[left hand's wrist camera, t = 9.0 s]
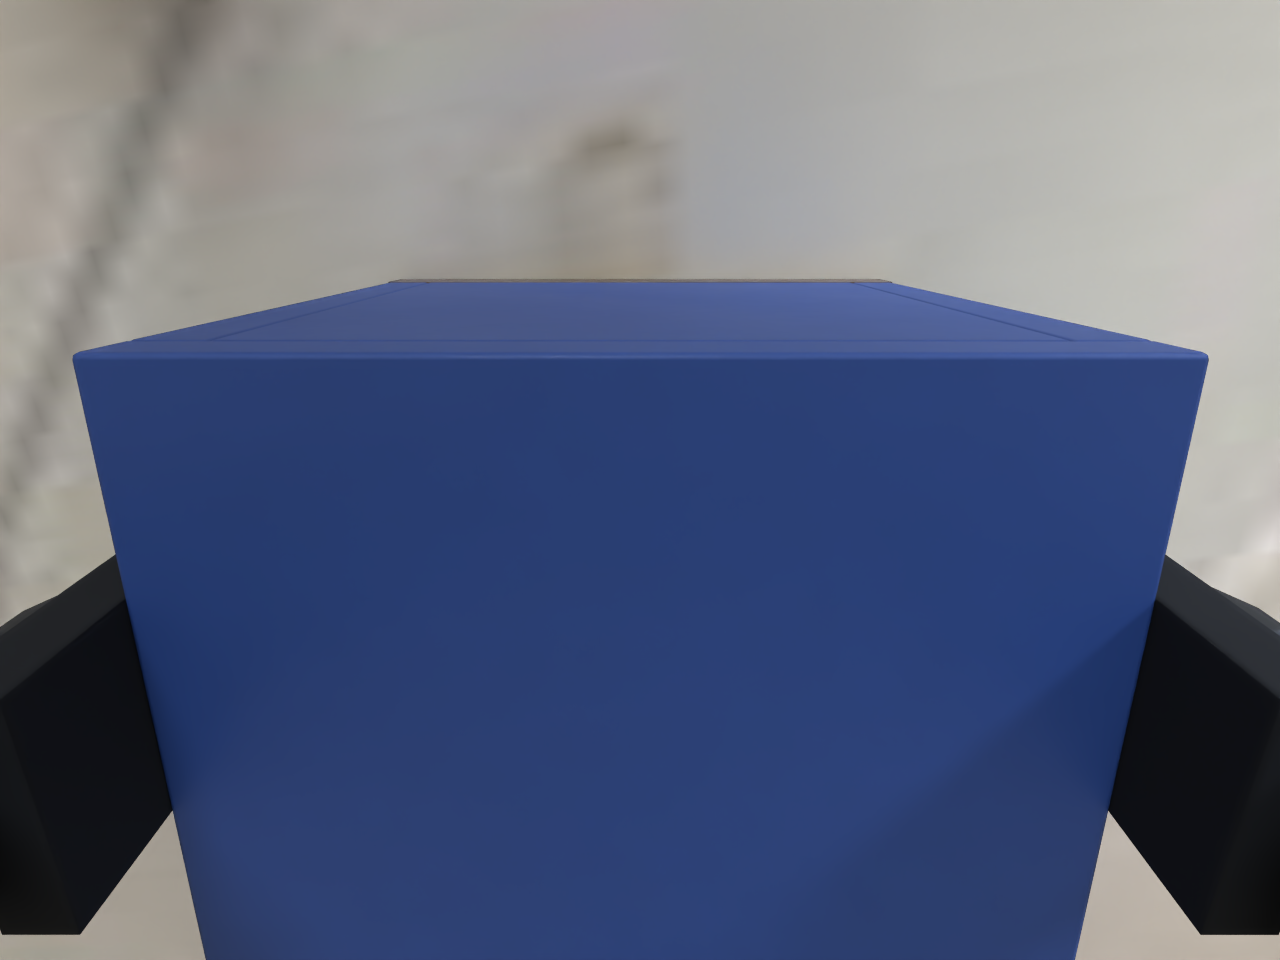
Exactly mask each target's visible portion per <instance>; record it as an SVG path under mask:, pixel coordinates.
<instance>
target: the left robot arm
mask: <svg viewBox="0 0 1280 960" xmlns="http://www.w3.org/2000/svg"><path fill="white" fill-rule="evenodd" d="M172 810H173V809H172V805H171V800H170V796H169V791H168V787H167V782H166V778H165V773H164V769H163V764H162V760H161V755H160V751H159V747H158V742H157V738H156V733H155V729H154V724H153V720H152V715H151V711H150V706H149V702H148V697H147V693H146V688H145V684H144V679H143V675H142V670H141V666H140V661H139V657H138V652H137V648H136V643H135V639H134V634H133V630H132V625H131V621H130V616H129V612H128V607H127V603H126V598H125V594H124V589H123V585H122V580H121V576H120V571H119V567H118V562H117V558H116V554H115V555H114V556H113V557H111V558H110V559H108V560H107V561H106V562H104V563H103V564H101V565H100V566H99V567H97V568H96V569H94V570H93V571H91V572H90V573H89V574H87V575H86V576H84V577H83V578H82V579H80V580H79V581H77V582H76V583H75V584H73V585H72V586H70V587H69V588H68V589H66V590H65V591H63V592H62V593H61V594H59V595H58V596H56V597H53V598H51V599H49V600H47V601H44V602H42V603H40V604H38V605H36V606H33V607H31V608H29V609H27V610H24V611H23V612H21V613H20V614H18V615H17V616H16V617H14V618H13V619H11V620H10V621H8V622H7V623H5V624H4V625H3V626H1V627H0V930H1V933H2V935H80V934H81V933H82V931H83V930H84V929H85V927H86V926H87V925H88V923H89V922H90V921H91V919H92V918H93V916H94V915H95V914H96V912H97V911H98V910H99V908H100V907H101V906H102V904H103V903H104V902H105V900H106V899H107V898H108V896H109V895H110V894H111V892H112V891H113V890H114V888H115V887H116V886H117V884H118V883H119V882H120V880H121V879H122V877H123V876H124V875H125V873H126V872H127V871H128V869H129V868H130V867H131V865H132V864H133V863H134V861H135V860H136V859H137V857H138V856H139V855H140V853H141V852H142V851H143V849H144V848H145V847H146V845H147V844H148V843H149V841H150V840H151V839H152V837H153V836H154V834H155V833H156V832H157V830H158V829H159V828H160V826H161V825H162V824H163V822H164V821H165V820H166V818H167V817H168V816H169V814H170V813H171V812H172ZM1108 811H1109V812H1110V814H1111V815H1112V816H1113V818H1114V819H1115V820H1116V822H1117V823H1118V824H1119V826H1120V827H1121V828H1122V830H1123V831H1124V832H1125V834H1126V835H1127V836H1128V838H1129V839H1130V840H1131V842H1132V843H1133V844H1134V846H1135V847H1136V848H1137V850H1138V851H1139V852H1140V854H1141V855H1142V857H1143V858H1144V859H1145V861H1146V862H1147V863H1148V865H1149V866H1150V867H1151V869H1152V870H1153V871H1154V873H1155V874H1156V875H1157V877H1158V878H1159V879H1160V881H1161V882H1162V883H1163V885H1164V886H1165V887H1166V889H1167V890H1168V891H1169V893H1170V894H1171V896H1172V897H1173V898H1174V900H1175V901H1176V902H1177V904H1178V905H1179V906H1180V908H1181V909H1182V910H1183V912H1184V913H1185V914H1186V916H1187V917H1188V918H1189V920H1190V921H1191V922H1192V924H1193V925H1194V926H1195V928H1196V929H1197V930H1198V932H1199V933H1200V934H1201V935H1279V932H1280V623H1279V622H1278V621H1276V620H1275V619H1273V618H1272V617H1270V616H1269V615H1268V614H1266V613H1265V612H1263V611H1262V610H1260V609H1259V608H1257V607H1255V606H1252V605H1250V604H1248V603H1246V602H1244V601H1241V600H1239V599H1237V598H1235V597H1232V596H1230V595H1228V594H1226V593H1223V592H1221V591H1219V590H1217V589H1214V588H1212V587H1210V586H1209V585H1207V584H1206V583H1205V582H1203V581H1202V580H1200V579H1199V578H1198V577H1196V576H1195V575H1193V574H1192V573H1191V572H1189V571H1188V570H1186V569H1185V568H1184V567H1182V566H1181V565H1179V564H1178V563H1176V562H1175V561H1174V560H1172V559H1171V558H1169V557H1168V556H1167V555H1165V558H1164V562H1163V567H1162V571H1161V576H1160V580H1159V585H1158V589H1157V594H1156V598H1155V603H1154V607H1153V612H1152V616H1151V621H1150V625H1149V630H1148V634H1147V639H1146V643H1145V648H1144V652H1143V656H1142V661H1141V665H1140V670H1139V674H1138V679H1137V683H1136V688H1135V692H1134V697H1133V701H1132V706H1131V710H1130V715H1129V719H1128V724H1127V728H1126V733H1125V737H1124V742H1123V746H1122V751H1121V755H1120V760H1119V764H1118V768H1117V773H1116V777H1115V782H1114V786H1113V791H1112V795H1111V800H1110V804H1109V809H1108Z"/></svg>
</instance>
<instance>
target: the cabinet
mask: <svg viewBox="0 0 1280 960" xmlns="http://www.w3.org/2000/svg"><path fill="white" fill-rule="evenodd" d="M1208 361H1209V359H1208V355H1207V354H1205V353H1203V352H1199V351H1195V350H1190V349H1186V348H1181V347H1177V346H1172V345H1168V344H1163V343H1159V342H1154V341H1149V340H1147V339H1142V338H1137V337H1133V336H1128V335H1124V334H1119V333H1115V332H1110V331H1106V330H1101V329H1097V328H1092V327H1088V326H1083V325H1079V324H1074V323H1070V322H1065V321H1061V320H1056V319H1052V318H1047V317H1043V316H1038V315H1034V314H1029V313H1025V312H1020V311H1016V310H1011V309H1007V308H1002V307H998V306H993V305H989V304H984V303H980V302H975V301H971V300H966V299H962V298H957V297H952V296H948V295H943V294H939V293H934V292H930V291H925V290H921V289H916V288H912V287H907V286H903V285H898V284H894V283H892V282H889V281H885V280H880V279H400V280H396V281H391V282H389V283H387V284H382V285H378V286H373V287H369V288H364V289H360V290H355V291H351V292H346V293H342V294H337V295H333V296H328V297H324V298H319V299H314V300H310V301H305V302H301V303H296V304H292V305H287V306H283V307H278V308H274V309H269V310H265V311H260V312H256V313H251V314H247V315H242V316H238V317H233V318H229V319H224V320H220V321H215V322H211V323H206V324H202V325H197V326H193V327H188V328H184V329H179V330H175V331H170V332H166V333H161V334H156V335H152V336H147V337H143V338H138V339H134V340H132V341H126V342H121V343H117V344H112V345H108V346H103V347H99V348H94V349H90V350H85V351H81V352H78V353H76V354H74V355H73V364H74V369H75V373H76V378H77V382H78V387H79V391H80V396H81V400H82V405H83V409H84V414H85V418H86V423H87V427H88V432H89V436H90V441H91V445H92V450H93V454H94V459H95V463H96V468H97V472H98V477H99V481H100V486H101V490H102V495H103V499H104V504H105V508H106V513H107V517H108V522H109V526H110V531H111V535H112V540H113V544H114V549H115V553H116V558H117V562H118V567H119V571H120V576H121V580H122V585H123V589H124V594H125V598H126V603H127V607H128V612H129V616H130V621H131V625H132V630H133V634H134V639H135V643H136V648H137V652H138V657H139V661H140V666H141V670H142V675H143V679H144V684H145V688H146V693H147V697H148V702H149V706H150V711H151V715H152V720H153V724H154V729H155V733H156V738H157V742H158V747H159V751H160V755H161V760H162V764H163V769H164V773H165V778H166V782H167V787H168V791H169V796H170V800H171V805H172V809H173V814H174V818H175V823H176V827H177V832H178V836H179V841H180V845H181V850H182V854H183V859H184V863H185V868H186V872H187V877H188V881H189V886H190V890H191V895H192V899H193V904H194V908H195V913H196V917H197V922H198V926H199V931H200V935H201V940H202V944H203V949H204V953H205V958H206V960H1075V957H1076V952H1077V948H1078V943H1079V939H1080V934H1081V930H1082V925H1083V921H1084V916H1085V912H1086V907H1087V903H1088V898H1089V894H1090V889H1091V885H1092V880H1093V876H1094V872H1095V867H1096V863H1097V858H1098V854H1099V849H1100V845H1101V840H1102V836H1103V831H1104V827H1105V822H1106V818H1107V813H1108V809H1109V804H1110V800H1111V795H1112V791H1113V786H1114V782H1115V777H1116V773H1117V768H1118V764H1119V760H1120V755H1121V751H1122V746H1123V742H1124V737H1125V733H1126V728H1127V724H1128V719H1129V715H1130V710H1131V706H1132V701H1133V697H1134V692H1135V688H1136V683H1137V679H1138V674H1139V670H1140V665H1141V661H1142V656H1143V652H1144V648H1145V643H1146V639H1147V634H1148V630H1149V625H1150V621H1151V616H1152V612H1153V607H1154V603H1155V598H1156V594H1157V589H1158V585H1159V580H1160V576H1161V571H1162V567H1163V562H1164V558H1165V553H1166V549H1167V544H1168V540H1169V536H1170V531H1171V527H1172V522H1173V518H1174V513H1175V509H1176V504H1177V500H1178V495H1179V491H1180V486H1181V482H1182V477H1183V473H1184V468H1185V464H1186V459H1187V455H1188V450H1189V446H1190V441H1191V437H1192V432H1193V428H1194V424H1195V419H1196V415H1197V410H1198V406H1199V401H1200V397H1201V392H1202V388H1203V383H1204V379H1205V374H1206V370H1207V365H1208Z"/></svg>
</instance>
